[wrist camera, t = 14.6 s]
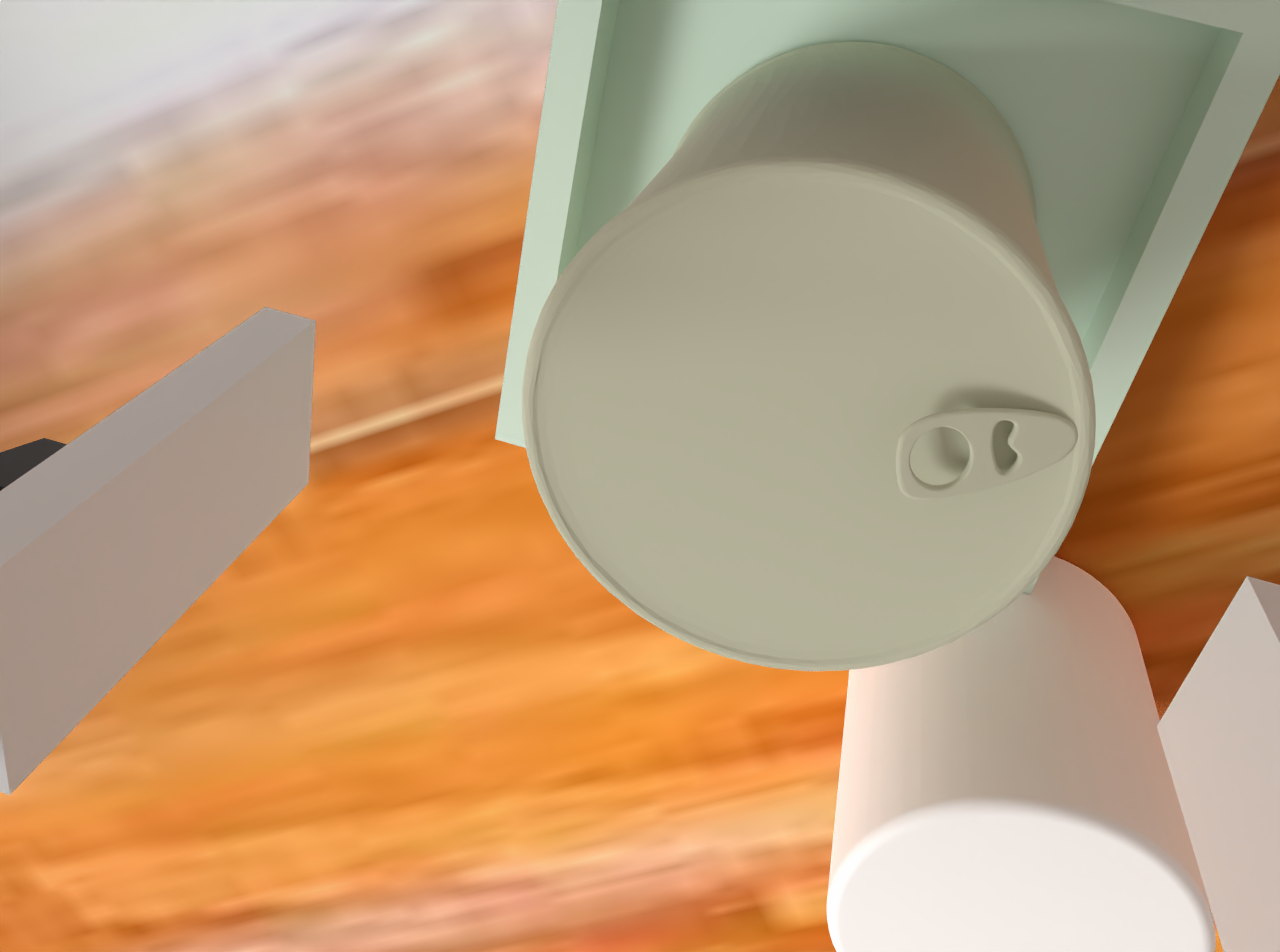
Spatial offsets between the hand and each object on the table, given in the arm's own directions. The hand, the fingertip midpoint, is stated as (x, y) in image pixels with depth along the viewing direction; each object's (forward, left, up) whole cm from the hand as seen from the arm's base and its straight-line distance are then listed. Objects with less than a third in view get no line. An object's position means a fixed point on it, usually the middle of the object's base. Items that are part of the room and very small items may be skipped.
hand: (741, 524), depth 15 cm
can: (0, 0, -14) cm, 14 cm away
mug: (+10, -13, -15) cm, 22 cm away
